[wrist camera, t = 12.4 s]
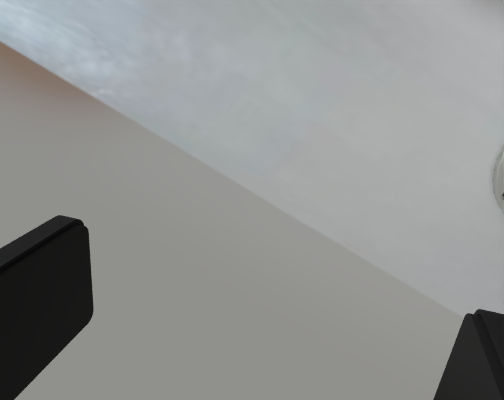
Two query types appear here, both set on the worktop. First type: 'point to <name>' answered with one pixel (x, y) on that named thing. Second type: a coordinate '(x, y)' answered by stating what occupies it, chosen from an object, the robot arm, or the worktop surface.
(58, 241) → the robot arm
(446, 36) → the worktop surface
